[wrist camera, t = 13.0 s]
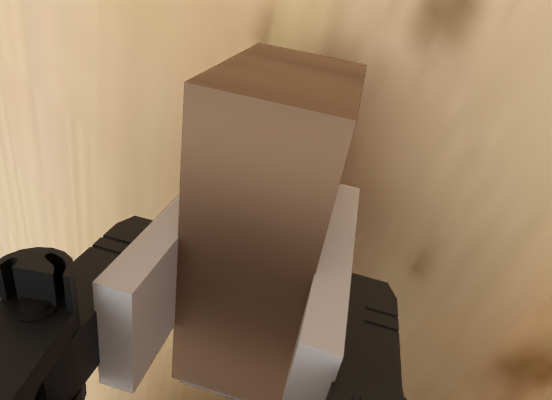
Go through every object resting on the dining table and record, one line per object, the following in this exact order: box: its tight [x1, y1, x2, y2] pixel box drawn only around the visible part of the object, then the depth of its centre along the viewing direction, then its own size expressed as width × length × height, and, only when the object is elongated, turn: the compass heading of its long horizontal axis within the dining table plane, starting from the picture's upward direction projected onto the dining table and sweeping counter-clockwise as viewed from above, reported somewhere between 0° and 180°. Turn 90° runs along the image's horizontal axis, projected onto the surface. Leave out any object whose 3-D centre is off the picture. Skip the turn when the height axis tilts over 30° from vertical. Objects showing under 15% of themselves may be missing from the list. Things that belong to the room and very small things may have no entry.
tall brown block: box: [172, 43, 367, 400], centre depth 13 cm, size 15×6×5 cm, turn 170°
